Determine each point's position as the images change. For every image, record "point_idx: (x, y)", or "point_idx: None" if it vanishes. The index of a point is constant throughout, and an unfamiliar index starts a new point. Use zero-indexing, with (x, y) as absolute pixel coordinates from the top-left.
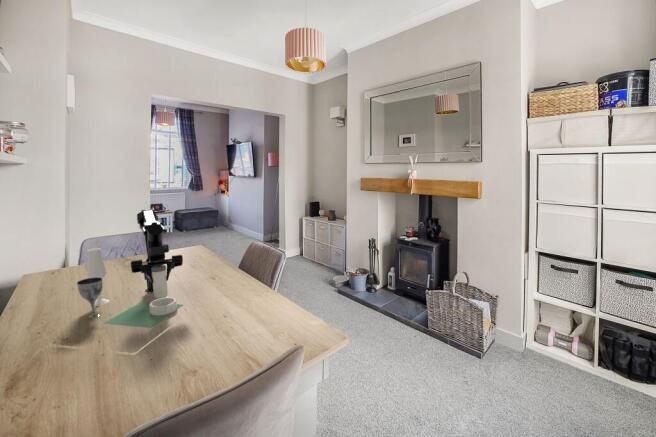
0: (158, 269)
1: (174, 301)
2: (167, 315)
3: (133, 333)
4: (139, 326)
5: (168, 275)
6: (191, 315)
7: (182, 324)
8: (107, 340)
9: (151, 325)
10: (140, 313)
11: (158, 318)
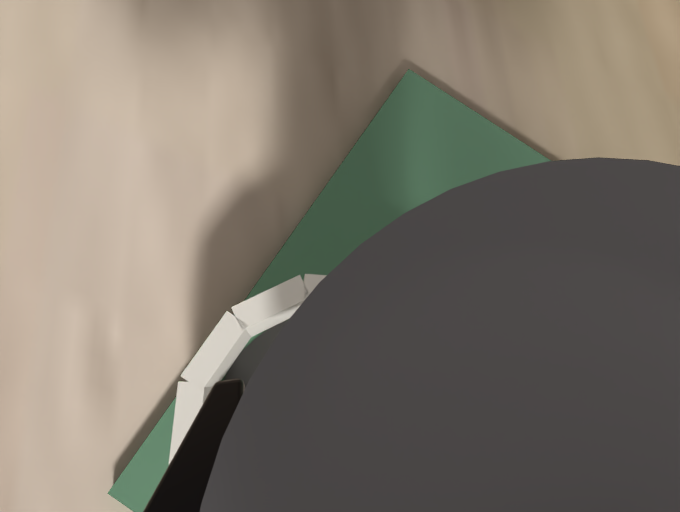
0: (575, 173)
1: (193, 385)
2: (283, 257)
3: (524, 64)
4: (501, 130)
5: (177, 459)
6: (60, 198)
7: (157, 49)
8: (675, 37)
9: (407, 104)
10: None
11: (362, 223)
